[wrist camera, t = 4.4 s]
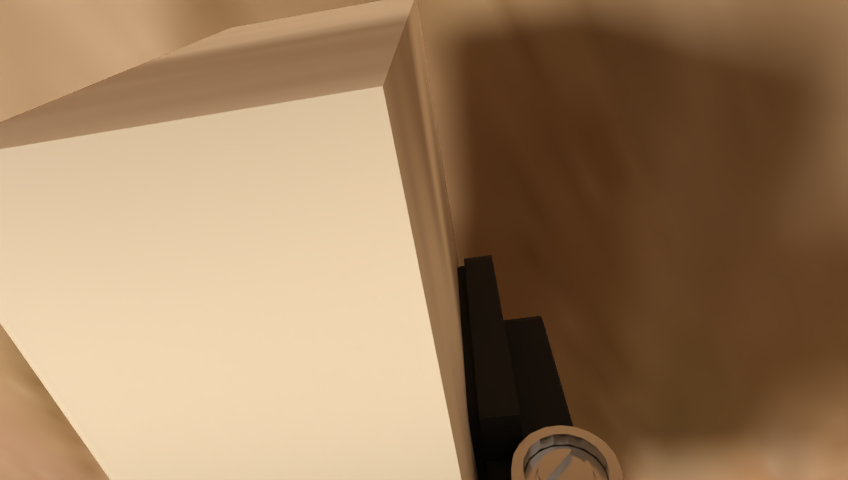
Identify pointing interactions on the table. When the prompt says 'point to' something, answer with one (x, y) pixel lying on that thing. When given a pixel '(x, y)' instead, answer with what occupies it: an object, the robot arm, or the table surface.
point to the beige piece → (245, 258)
